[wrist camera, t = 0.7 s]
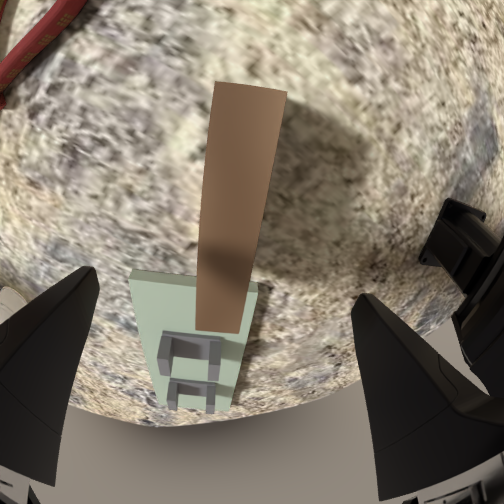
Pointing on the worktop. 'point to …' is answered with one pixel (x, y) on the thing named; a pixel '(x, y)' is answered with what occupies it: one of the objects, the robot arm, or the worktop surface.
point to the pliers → (36, 39)
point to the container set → (10, 302)
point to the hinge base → (186, 343)
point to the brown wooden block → (234, 199)
